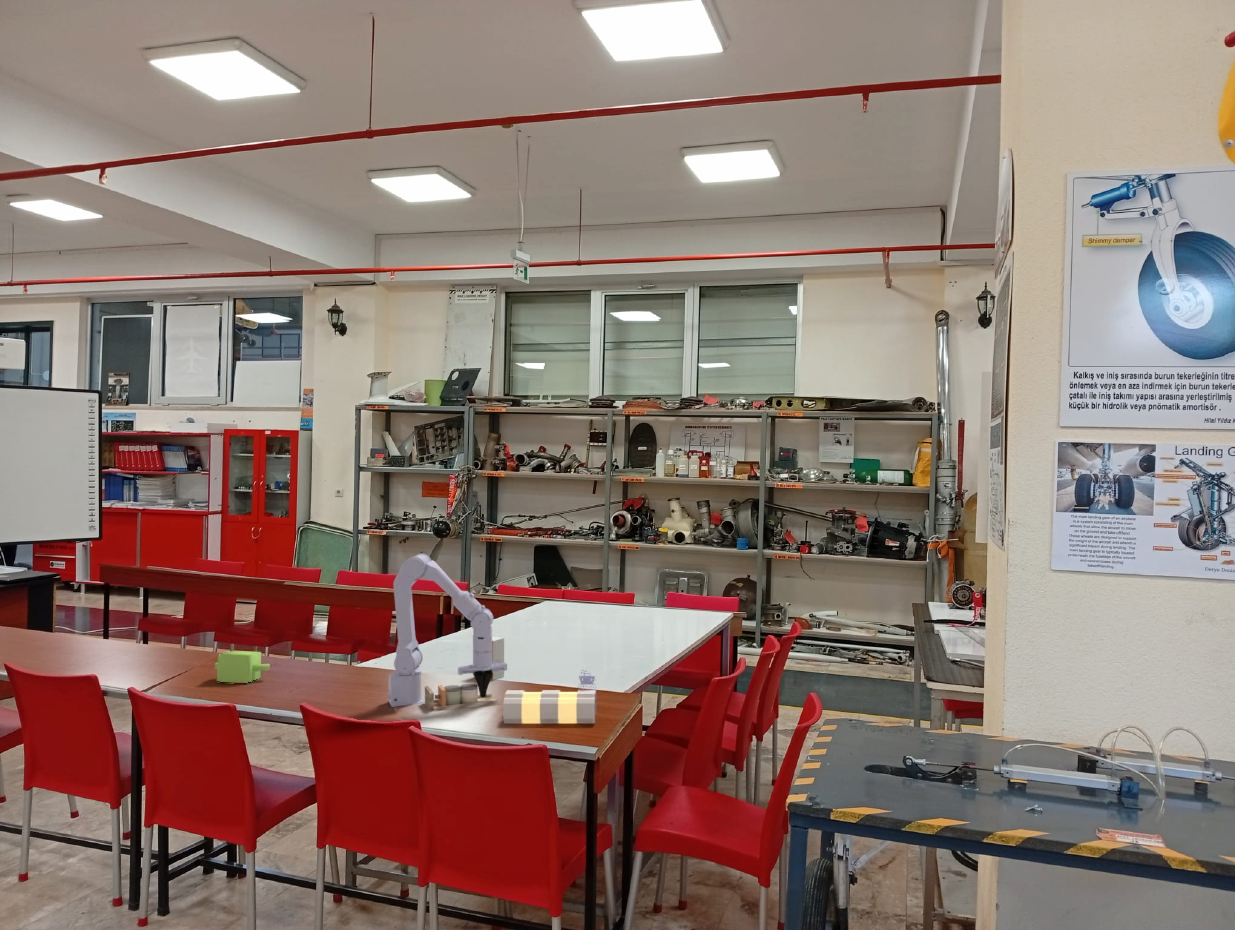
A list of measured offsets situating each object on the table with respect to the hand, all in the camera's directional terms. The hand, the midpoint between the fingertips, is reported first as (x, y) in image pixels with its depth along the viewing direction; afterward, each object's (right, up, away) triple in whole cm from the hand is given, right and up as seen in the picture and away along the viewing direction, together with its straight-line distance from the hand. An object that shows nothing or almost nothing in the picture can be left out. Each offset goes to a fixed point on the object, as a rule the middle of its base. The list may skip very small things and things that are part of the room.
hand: (482, 696), depth 261 cm
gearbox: (-84, -3, +29) cm, 89 cm away
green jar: (-8, -1, -3) cm, 9 cm away
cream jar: (-4, -1, -2) cm, 4 cm away
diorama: (+22, -2, -17) cm, 28 cm away
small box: (-3, -2, +32) cm, 33 cm away
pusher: (-12, -1, -5) cm, 13 cm away
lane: (-6, -2, -2) cm, 7 cm away
